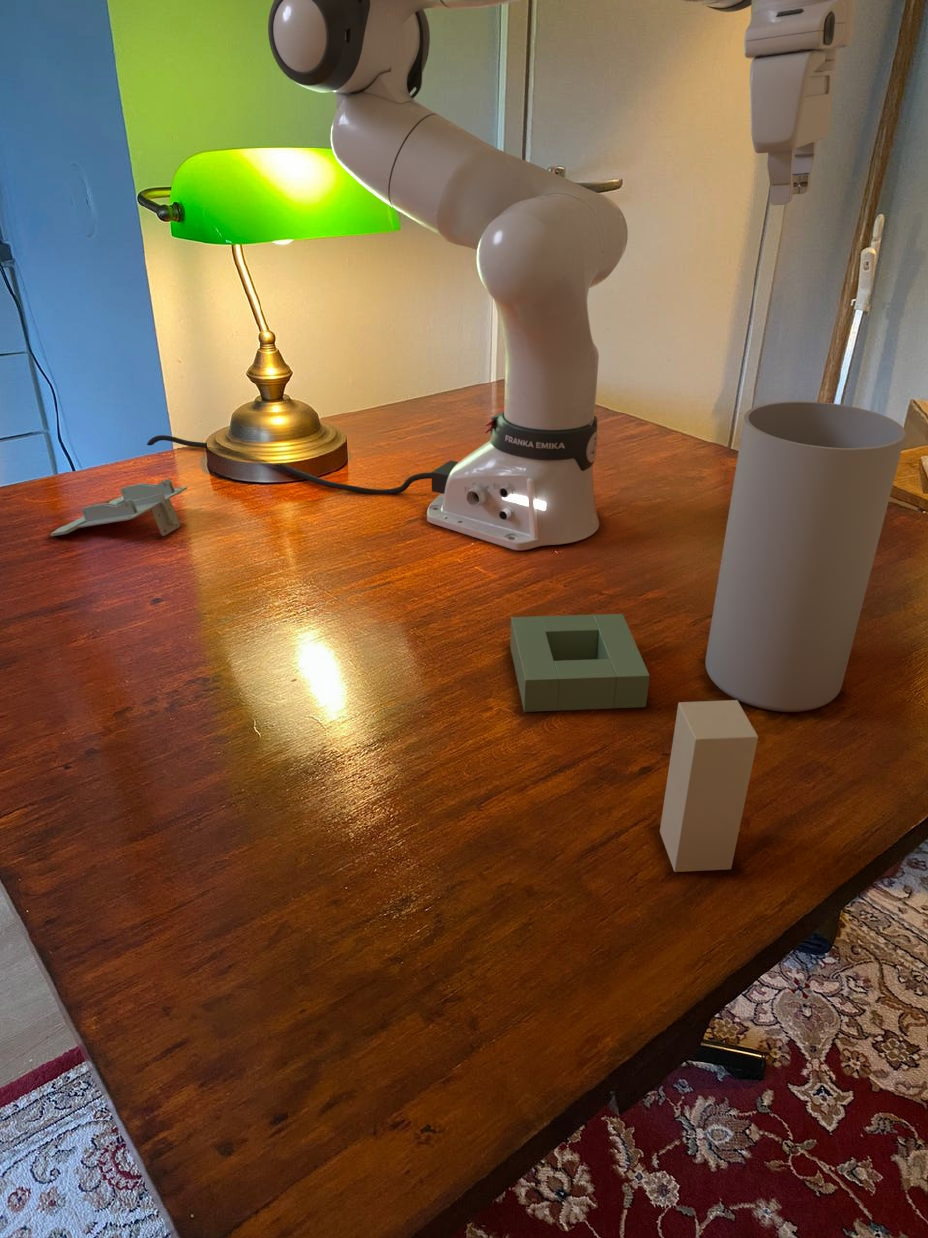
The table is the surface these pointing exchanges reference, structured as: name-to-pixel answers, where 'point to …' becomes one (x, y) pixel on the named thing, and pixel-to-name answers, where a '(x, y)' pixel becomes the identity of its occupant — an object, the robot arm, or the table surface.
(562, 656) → the block
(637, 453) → the table surface
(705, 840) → the beige rectangular block
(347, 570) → the table surface
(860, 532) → the cylinder vase
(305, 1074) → the table surface
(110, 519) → the metal bracket
